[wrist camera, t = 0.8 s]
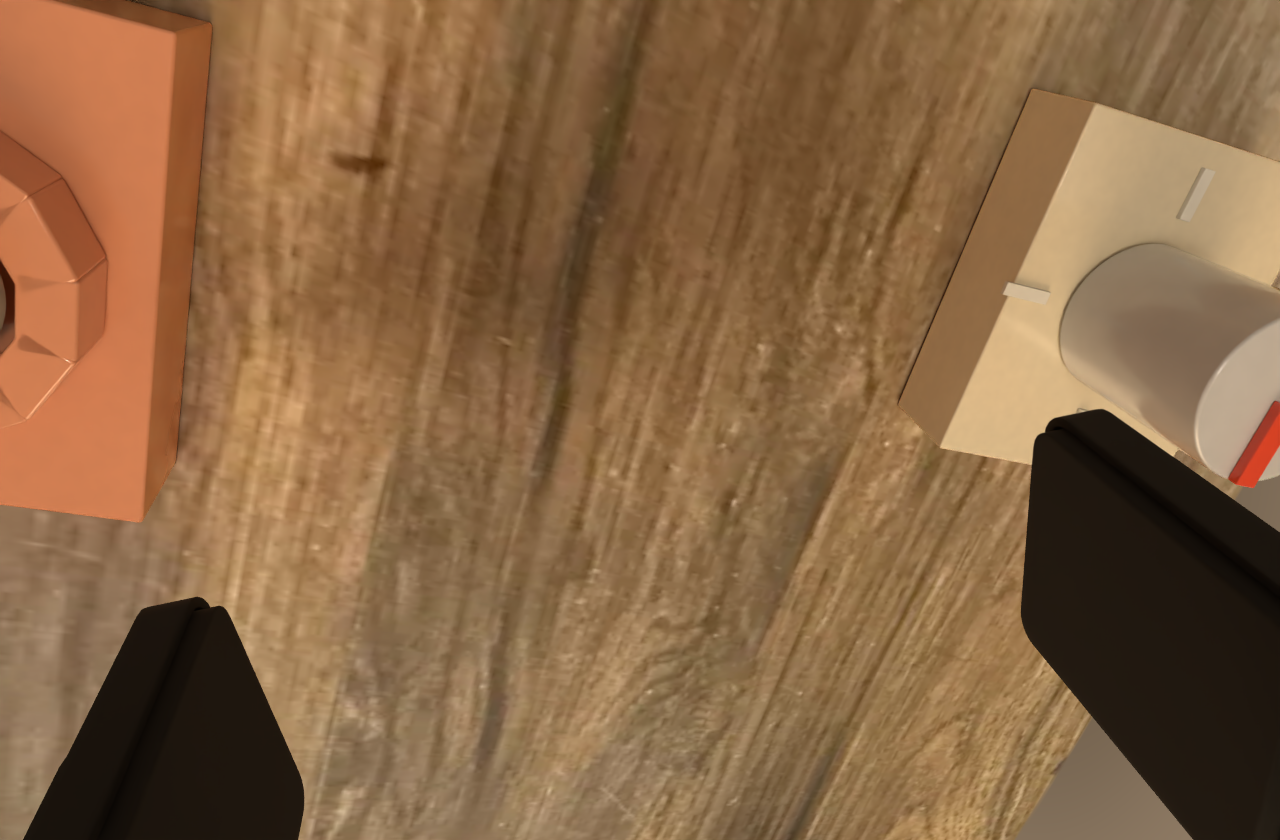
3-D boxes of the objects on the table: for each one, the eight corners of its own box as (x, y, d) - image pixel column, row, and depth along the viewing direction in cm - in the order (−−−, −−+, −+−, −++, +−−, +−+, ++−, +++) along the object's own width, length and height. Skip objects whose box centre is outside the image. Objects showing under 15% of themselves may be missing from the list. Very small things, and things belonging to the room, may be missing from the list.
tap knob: (1103, 226, 25) (1272, 296, 20) (1231, 261, 26) (1421, 336, 21) (1032, 374, 26) (1170, 474, 21) (1155, 401, 28) (1313, 502, 22)
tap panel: (1022, 85, 26) (1090, 100, 23) (1258, 160, 28) (1346, 182, 25) (888, 403, 30) (932, 449, 27) (1105, 446, 32) (1167, 493, 29)
